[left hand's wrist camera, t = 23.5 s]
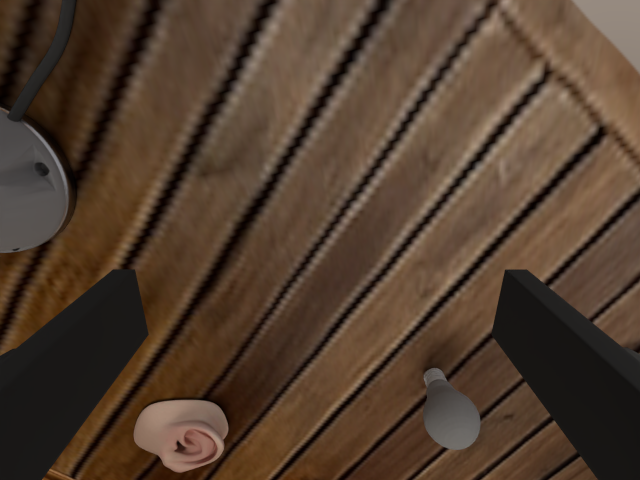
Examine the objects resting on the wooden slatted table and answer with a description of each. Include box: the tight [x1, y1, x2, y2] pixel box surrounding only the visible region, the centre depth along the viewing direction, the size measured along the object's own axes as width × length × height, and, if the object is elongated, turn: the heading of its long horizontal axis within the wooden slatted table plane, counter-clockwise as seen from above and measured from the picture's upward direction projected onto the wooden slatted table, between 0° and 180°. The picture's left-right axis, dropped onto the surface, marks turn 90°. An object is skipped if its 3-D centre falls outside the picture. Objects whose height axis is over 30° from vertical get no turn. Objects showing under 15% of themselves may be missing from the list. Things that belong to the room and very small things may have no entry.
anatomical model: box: [134, 400, 228, 472], centre depth 48 cm, size 13×4×12 cm
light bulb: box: [423, 368, 480, 450], centre depth 41 cm, size 6×6×10 cm
